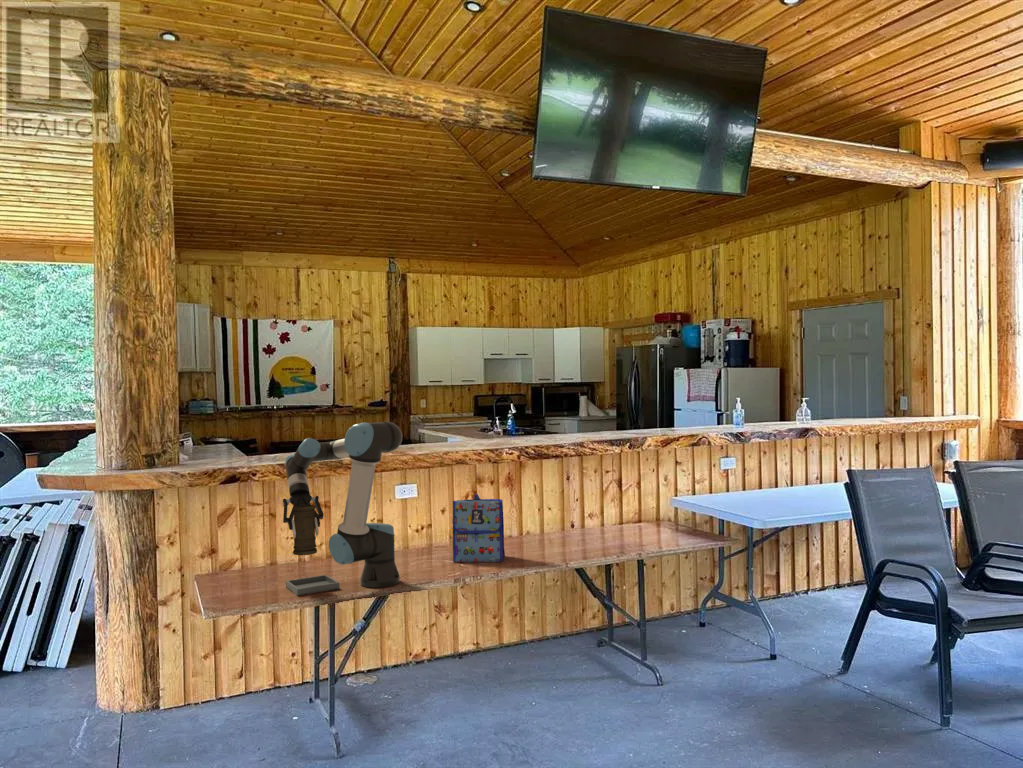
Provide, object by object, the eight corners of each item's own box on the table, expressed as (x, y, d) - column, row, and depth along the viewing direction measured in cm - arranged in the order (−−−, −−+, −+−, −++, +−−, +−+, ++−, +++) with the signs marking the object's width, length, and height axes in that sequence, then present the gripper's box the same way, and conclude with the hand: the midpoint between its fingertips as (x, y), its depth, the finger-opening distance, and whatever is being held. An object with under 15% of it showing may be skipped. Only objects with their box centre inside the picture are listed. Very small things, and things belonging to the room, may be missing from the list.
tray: (326, 580, 298) (326, 574, 298) (339, 589, 284) (339, 582, 284) (285, 587, 290) (285, 580, 290) (297, 596, 276) (297, 589, 276)
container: (311, 555, 281) (310, 507, 281) (288, 555, 282) (288, 507, 282) (321, 550, 289) (320, 504, 290) (298, 550, 291) (298, 504, 291)
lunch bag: (452, 563, 323) (450, 496, 323) (457, 556, 336) (455, 492, 337) (503, 562, 321) (501, 495, 322) (505, 555, 335) (503, 491, 335)
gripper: (324, 491, 304) (332, 537, 289) (271, 495, 296) (277, 543, 281) (325, 479, 300) (334, 525, 284) (272, 483, 291) (278, 531, 276)
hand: (306, 534), depth 283 cm, fingers closed on container, 8 cm apart
